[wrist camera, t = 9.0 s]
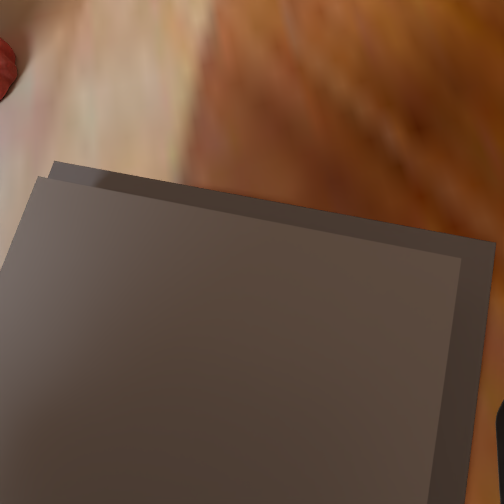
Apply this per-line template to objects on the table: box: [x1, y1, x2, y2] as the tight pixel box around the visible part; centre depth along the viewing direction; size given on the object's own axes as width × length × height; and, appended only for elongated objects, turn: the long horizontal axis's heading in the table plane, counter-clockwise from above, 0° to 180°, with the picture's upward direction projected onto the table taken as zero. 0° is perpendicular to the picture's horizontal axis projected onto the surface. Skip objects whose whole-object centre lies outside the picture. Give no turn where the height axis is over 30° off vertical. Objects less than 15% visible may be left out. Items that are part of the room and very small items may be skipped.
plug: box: [0, 161, 496, 504], centre depth 10 cm, size 5×5×13 cm
